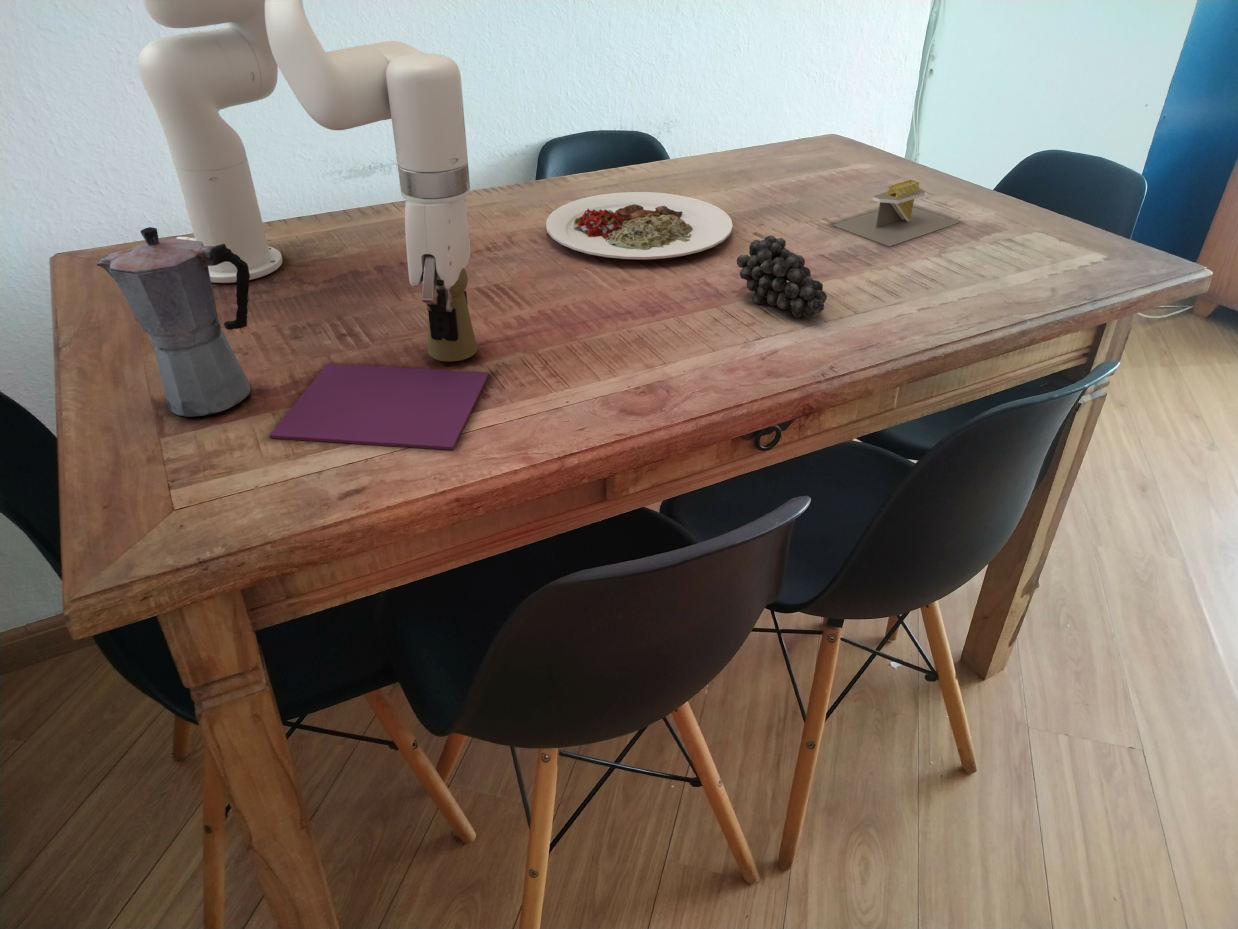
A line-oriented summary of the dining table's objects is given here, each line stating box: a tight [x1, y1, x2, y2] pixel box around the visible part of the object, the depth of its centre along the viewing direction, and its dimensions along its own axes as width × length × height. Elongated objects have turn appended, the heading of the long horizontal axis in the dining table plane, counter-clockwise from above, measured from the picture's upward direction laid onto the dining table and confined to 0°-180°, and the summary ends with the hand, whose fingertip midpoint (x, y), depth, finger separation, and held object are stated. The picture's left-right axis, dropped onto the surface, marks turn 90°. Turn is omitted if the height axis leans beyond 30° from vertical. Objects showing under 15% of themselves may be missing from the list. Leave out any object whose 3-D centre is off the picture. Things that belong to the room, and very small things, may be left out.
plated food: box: [545, 191, 733, 261], centre depth 143 cm, size 30×30×3 cm
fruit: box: [736, 235, 828, 319], centre depth 119 cm, size 9×8×15 cm
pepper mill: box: [427, 268, 478, 362], centre depth 106 cm, size 6×6×11 cm
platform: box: [832, 178, 960, 247], centre depth 146 cm, size 12×18×7 cm, turn 127°
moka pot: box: [96, 226, 251, 418], centre depth 96 cm, size 10×15×20 cm, turn 95°
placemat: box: [269, 363, 490, 451], centre depth 100 cm, size 20×16×1 cm
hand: (450, 328), depth 108 cm, fingers closed on pepper mill, 4 cm apart
